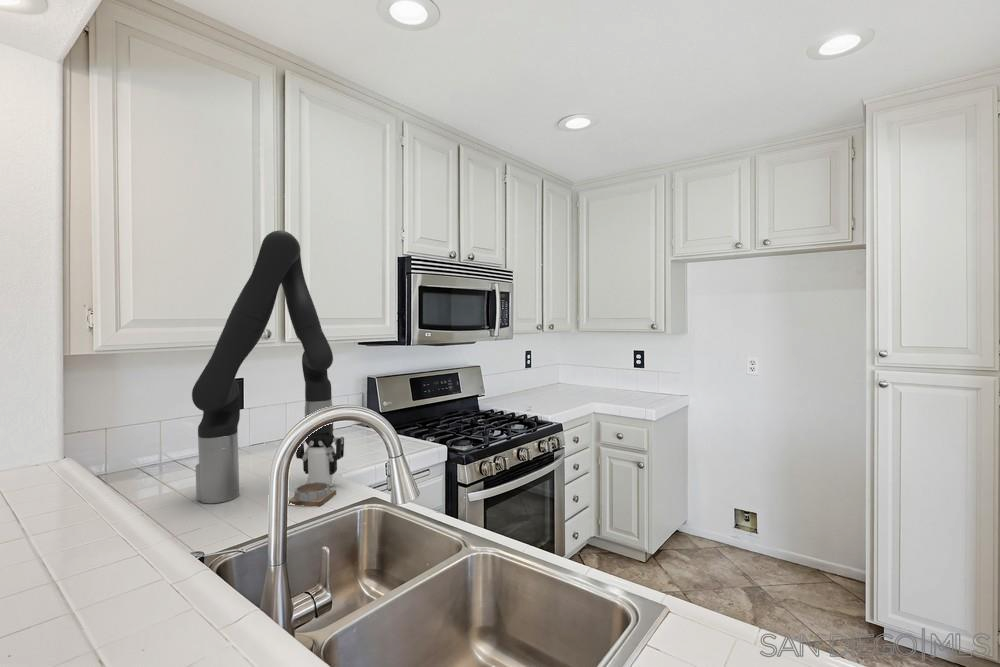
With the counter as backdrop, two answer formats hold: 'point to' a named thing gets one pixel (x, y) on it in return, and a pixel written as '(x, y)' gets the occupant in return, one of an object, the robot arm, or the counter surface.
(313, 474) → the can
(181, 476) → the counter surface
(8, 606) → the counter surface
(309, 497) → the collar
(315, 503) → the board
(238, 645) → the counter surface
